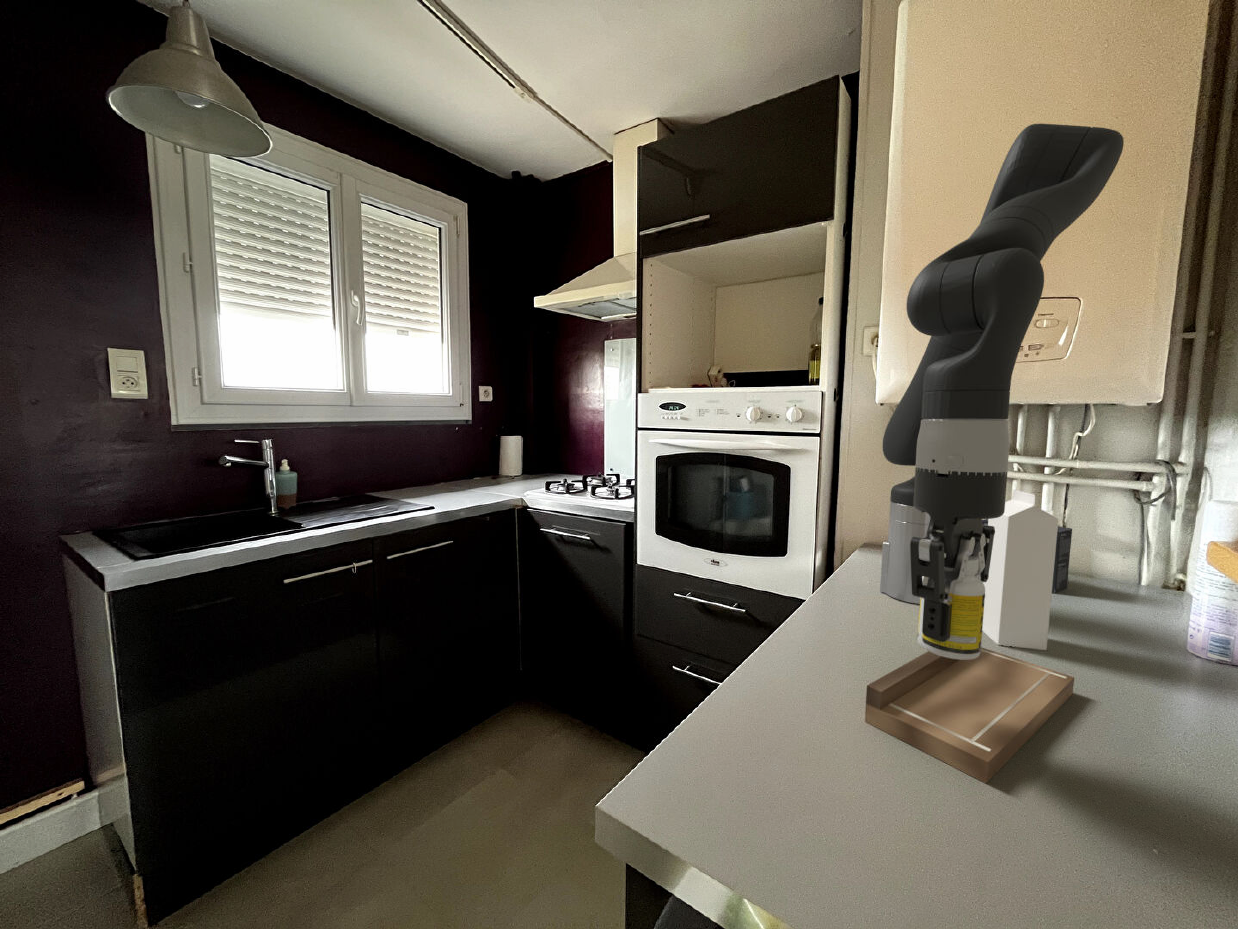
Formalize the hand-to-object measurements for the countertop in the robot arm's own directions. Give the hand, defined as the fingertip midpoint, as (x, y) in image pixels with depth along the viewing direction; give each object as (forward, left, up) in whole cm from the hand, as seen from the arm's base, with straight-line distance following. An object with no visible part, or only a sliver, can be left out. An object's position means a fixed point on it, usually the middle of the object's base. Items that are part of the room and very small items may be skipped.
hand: (948, 630), depth 51 cm
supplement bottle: (0, 0, -2) cm, 2 cm away
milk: (-4, +33, -11) cm, 35 cm away
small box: (-13, +68, -11) cm, 70 cm away
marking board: (0, +8, -11) cm, 13 cm away
